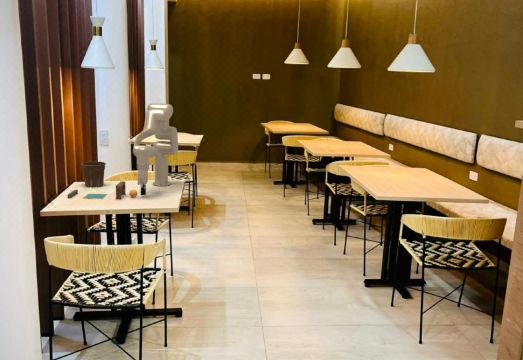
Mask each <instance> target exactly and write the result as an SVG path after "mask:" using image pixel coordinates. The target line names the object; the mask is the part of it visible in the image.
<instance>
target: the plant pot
mask: <svg viewBox="0 0 523 360" xmlns="http://www.w3.org/2000/svg"><path fill="white" fill-rule="evenodd" d="M106 165H107V163H106V162H105V161H85V162H82V163H81V167H82V170H83V171H82V172H83V173H82V174H83V178H84V186H85V187H86V186H87V187H86V188H90V187H92V188H91V189H93V187H97V188H99V187H100V188H102V187H104V180H105V170H106Z"/></svg>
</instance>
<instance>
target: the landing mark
mask: <svg viewBox="0 0 523 360" xmlns="http://www.w3.org/2000/svg"><path fill="white" fill-rule="evenodd" d="M107 195H108V194H107V193H88V194H86V195H85V196H84V197H83V199H92V200H93V199H95V200H96V199H98V200H99V199H100V200H101V199H104V198H105V197H106V196H107Z"/></svg>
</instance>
